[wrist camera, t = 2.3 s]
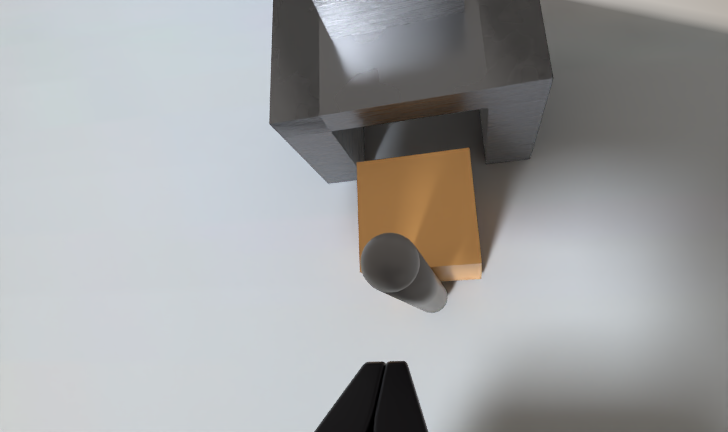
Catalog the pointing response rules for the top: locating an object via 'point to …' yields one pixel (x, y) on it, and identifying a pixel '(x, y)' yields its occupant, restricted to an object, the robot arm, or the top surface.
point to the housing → (405, 73)
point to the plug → (418, 225)
